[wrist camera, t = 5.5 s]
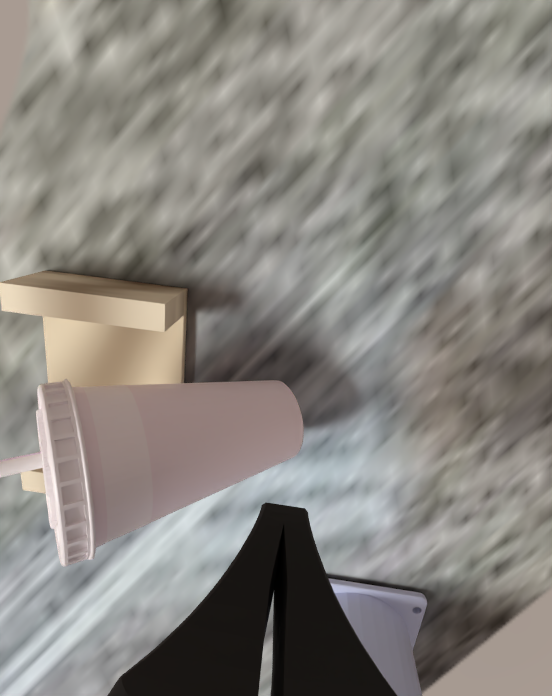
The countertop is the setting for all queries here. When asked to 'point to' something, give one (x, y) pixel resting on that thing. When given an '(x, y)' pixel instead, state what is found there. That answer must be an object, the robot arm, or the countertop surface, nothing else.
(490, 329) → the countertop surface
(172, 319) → the u rest
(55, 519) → the smoothie
